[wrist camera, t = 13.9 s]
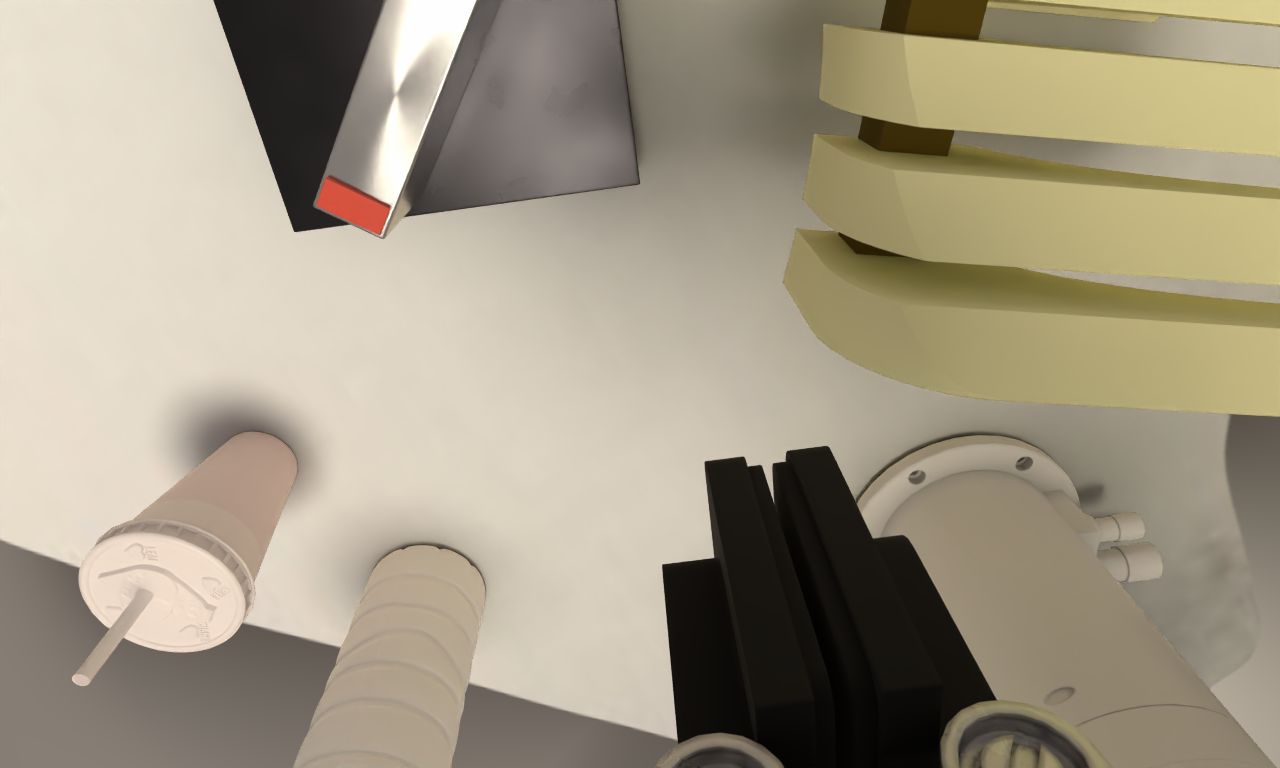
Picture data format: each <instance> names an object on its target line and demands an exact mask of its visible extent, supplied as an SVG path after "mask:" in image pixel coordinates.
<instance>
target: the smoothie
mask: <svg viewBox="0 0 1280 768" xmlns="http://www.w3.org/2000/svg"><path fill="white" fill-rule="evenodd" d="M297 470H298V465H297V460H296V458H295V455H294V454H293V452H292V451H291V449H290V448H289V447H288V446H287V445H286V444H285V443H284V442H282V441H281V440H279V439H278V438H276V437H274V436H272V435H269V434H266V433H262V432H244V433H240V434H237V435H235V436H234V437H232V438H231V439H230V440H228V441H227V442H226V443H225V444H224V445H222V446H221V447H220V448H219V449H218V450H216V451H215V452H214V453H213V454H212V455H210V456H209V457H208V458H207V459H206V460H204V461H203V462H202V463H201V464H200V465H198V466H197V467H196V468H195V469H194V470H192V471H191V472H190V473H189V474H188V475H186V476H185V477H184V478H183V479H181V480H180V481H179V482H178V483H177V484H175V485H174V486H173V487H172V488H171V489H169V490H168V491H167V492H166V493H165V494H163V495H162V496H161V497H160V498H159V499H157V500H156V501H155V502H154V503H153V504H151V505H150V506H149V507H148V508H147V509H145V510H144V511H143V512H141V513H140V514H139V515H138V516H137V517H136V518H134V519H133V520H131V521H128V522H125V523H123V524H120V525H118V526H116V527H113V528H111V529H110V530H109V531H108V532H106V533H105V534H104V535H103V536H102V537H100V538H99V539H98V541H97V543H96V545H95V546H94V547H93V548H92V549H91V550H90V552H89V553H88V554H87V555H86V556H85V558H84V560H83V562H82V564H81V567H80V571H79V586H80V590H81V593H82V596H83V598H84V600H85V603H86V604H87V605H88V607H89V608H90V610H91V611H92V613H93V614H94V615H95V616H96V617H97V618H98V619H99V620H100V621H101V622H102V623H103V624H104V625H105V626H107V627H108V628H109V629H110V630H109V631H108V632H107V633H106V635H105V636H104V637H103V638H102V640H101V641H100V643H99V644H98V645H97V646H96V648H95V649H94V650H93V652H92V653H91V654H90V655H89V657H88V658H87V659H86V660H85V662H84V663H83V664H82V666H81V667H80V668H79V670H78V671H77V672H76V674H75V675H74V676H73V677H72V680H73V682H74V683H76V684H77V685H81V686H85V685H88V684H89V683H90V681H91V680H92V679H93V677H94V676H95V675H96V673H97V672H98V671H99V669H100V668H101V667H102V665H103V664H104V663H105V661H106V660H107V659H108V657H109V656H110V655H111V653H112V652H113V651H114V649H115V648H116V646H117V645H118V644H119V642H120V641H121V640H122V638H123V637H124V638H125V639H127V640H129V641H132V642H134V643H137V644H139V645H142V646H145V647H149V648H152V649H156V650H161V651H169V652H193V651H200V650H205V649H208V648H212V647H214V646H217V645H219V644H221V643H223V642H224V641H226V640H228V639H229V638H230V637H231V636H232V635H233V634H234V633H235V632H236V631H237V630H238V628H239V627H240V625H241V624H242V622H243V621H244V620H245V618H246V617H247V616H248V614H249V613H250V611H251V610H252V608H253V603H254V599H255V595H256V592H255V585H254V581H255V579H256V577H257V574H258V572H259V569H260V566H261V563H262V561H263V558H264V556H265V553H266V551H267V548H268V546H269V543H270V541H271V538H272V536H273V533H274V530H275V528H276V525H277V523H278V520H279V518H280V515H281V513H282V510H283V508H284V505H285V503H286V500H287V498H288V495H289V493H290V490H291V488H292V485H293V483H294V480H295V477H296V475H297Z"/></svg>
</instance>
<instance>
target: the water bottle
mask: <svg viewBox="0 0 1280 768" xmlns="http://www.w3.org/2000/svg"><path fill="white" fill-rule="evenodd" d="M485 598H486V594H485V586H484V582H483V579H482V577H481V575H480V574H479V572H478V571H477V569H476V568H475V567H474V566H471V565H470V563H469V562H468V561H467V560H466V559H465V558H464V557H462V556H461V555H459V554H457V553H455V552H453V551H450V550H448V549H440V550H439V549H438V548H437V547H435V546H428V545H417V546H410V547H407V548H405V549H404V550H402V549H399V550H396V551H394V552H392V553H390V554H389V555H387V556H386V557H384V558H383V559H382V560H381V561H380V562H379V563H378V564H377V566H376V567H375V568H374V570H373V571H372V573H371V575H370V578H369V580H368V583H367V585H366V587H365V590H364V592H363V595H362V598H361V601H360V605H359V607H358V609H357V611H356V613H355V615H354V618H353V620H352V623H351V625H350V629H349V633H348V635H347V637H346V639H345V641H344V643H343V645H342V647H341V650H340V653H339V655H338V658H337V661H336V667H335V668H334V670H333V671H332V673H331V675H330V677H329V679H328V682H327V685H326V688H325V692H324V695H323V697H322V698H321V700H320V702H319V704H318V707H317V709H316V712H315V714H314V717H313V719H312V722H311V725H310V729H309V733H308V734H307V736H306V738H305V739H304V742H303V744H302V746H301V748H300V751H299V753H298V756H297V758H296V761H295V764H294V767H293V768H451V759H452V757H453V754H454V751H455V746H456V742H457V737H458V731H459V721H460V719H461V715H462V712H463V708H464V702H465V695H464V694H465V692H466V690H467V686H468V683H469V678H470V673H471V666H472V659H473V656H474V653H475V648H476V644H477V637H478V631H479V628H480V624H481V620H482V615H483V610H484V605H485Z"/></svg>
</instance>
